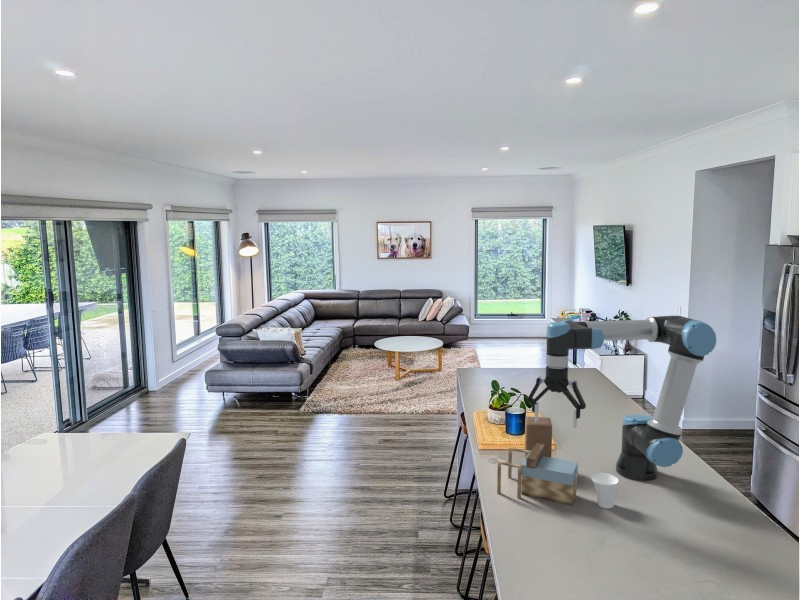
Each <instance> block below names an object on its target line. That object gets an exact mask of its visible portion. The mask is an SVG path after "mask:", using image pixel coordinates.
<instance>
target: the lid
mask: <svg viewBox="0 0 800 600" xmlns="http://www.w3.org/2000/svg"><path fill="white" fill-rule="evenodd" d="M529 454H530V453H528V455H529ZM528 455H527V456H528ZM527 456H526V458H527ZM526 458H525V457H524V459H523V461H522V462H521V464H520V465H521V476H522V475H523V476H528V477H532V478H537V479H542V480H547V481H552V482H557V483H562V484H567V485H572V484H573V482H574V480H575V477H576V475H577V476H578V470H579V469H578V468H579V465H578V464H579V463H578V462H577V461H572V460H567V459H561V458H556V457H553V456H551V457H546V456H542V458H541V460H540V461H539V463H538V464H537V466H536V468H535V469H532V468H527V467H526Z"/></svg>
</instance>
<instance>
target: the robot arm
mask: <svg viewBox="0 0 800 600" xmlns="http://www.w3.org/2000/svg"><path fill="white" fill-rule="evenodd" d="M638 340H639V341H640V340H646V341H647V342H648V343H662V344H665V345H669V346H668V350H667V353H668V354H669V356H670V359H669V363H668V365H667V366H668V367H667V369H666V373H665V376H664V379H663V383H662V385H661V386H662V387H661V389H660V393H659V396H658V399H657V403H656V407H655V409H654V413H653V416H650V415H647V414H646V415H645V414H629V415H628V414H627V415H625V416H624V417H623V419H622V424H621V425H622V427H621V428H622V429H621V430H622V431H621V452H620V454H619V457H618V459H617V461H616V463H615V471H616V472H617V473H618V474H619V475H620V476H621V477H624V478H626V479H628V480H629V479H630V480H633V481H640V482H649V481H653V480H656V479H657V478H658V473H659V472H658V470H659V469H658V467H661V468H667V467H671V466H673V465H675V464H676V463H678V462H679V461H680V460H681V458H682V456H683V453H684V449H683V448H684V447H683V446H682V444H681V442H680V438H681V434H682V432H681V430H680V428H679V426H680V422H681V418H682V415H683V412H684V410H685V409H684V408H685V405H686V403H687V402H686V401H687V398H688V395H689V391H690V389H691V386H692V382H693V378H694V375H695V372H696V369H697V367H698V366H697V365H698V364H699V363H702V362H703V361H704V358H705V356H707V355H709V354H710V353H712V352H713V351H714V349H715V347H716V344H717V334H716V332H715V331H714V329H713V328H712V326H710V324H708V323H706V322H704V321H701V320H699V319H693V318H689V317H686V316H681V315H663V316H649V317H646V318H645V319H629V320H628V319H627V320H624V319H621V320H620V319H619V320H590V321H589V320H588V321H586V320H585V321H573V320H571V319H570V320H569V319H565V320H562V321H560V322H559V321H553V322H550V323H548V324H547V328H546V356H545V358H546V359H545V365H546V367H545V377H544V378H543V377H542V376H538V377H537V378H536V380H535V381H536V382H535V385H534V386H533V388H532V390H531V391H530V393H529V395H528V397H526V401H527V402H529V403H530V404H531V413H534V417H535V420H534V422H537V421H538V417H539V408H540V405H539V404H540V403H539V402H538V401H539V400H540V399H541V398H543V396H544V395H545V394H546V393H547V392H549V391H550V392H551V393H557V394H558V393H559V394H560V393H562V394H563V395H565V397H566V398H567V400H568V401H569V402H570V403H571V405H572V406H573V407H574V409H573V423H572V424H573V425H572V428H573V429H576V428H577V425H578V419H580V418H581V410H585V409H586V407H587V404H586V401H585V400H584V398H583V396H582V394H581V392H580V389H579V387H578V381H577V380H573V381H571V380H570V381H569V378H568V377H569V367H568V366H569V355H570V354H569V352H570V350H595V349H601V348H602V347H603V345H604V342H605V341H609V342H610V341H638ZM543 383H544V384H545V386H546V387H545V388H544V389H543V390H542V391H540V393H539V394H538V395H537V396H536V397H535V398H534V396H535V394H536V392H537V391H538V389H539V387H540V386H541V384H543ZM568 386H569V387H570V388H572V391H573V393H574V395H575V397H576V398H575V397H574V396H573V394H572V393H571V392H570V390H569V388H568ZM576 399H577V400H576ZM657 466H658V467H657Z"/></svg>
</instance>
